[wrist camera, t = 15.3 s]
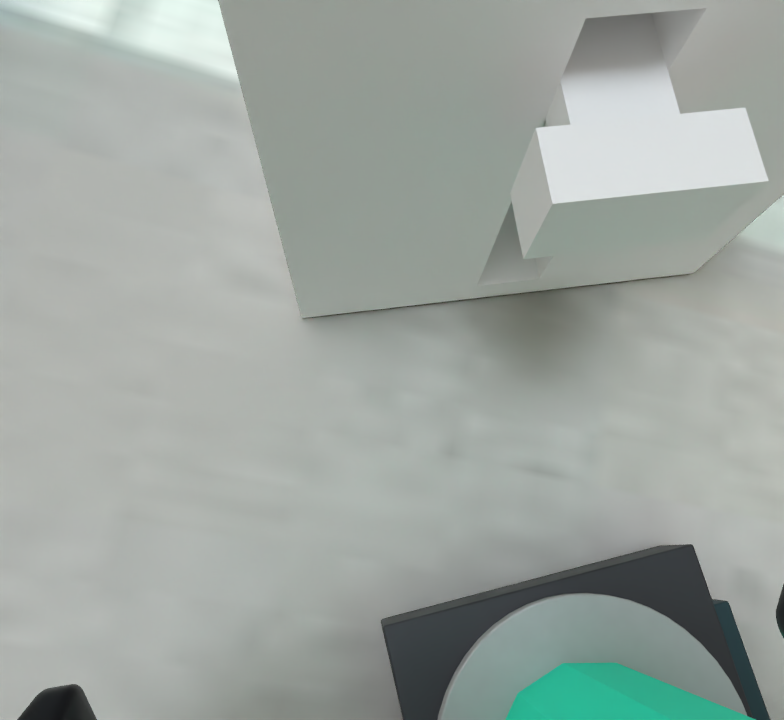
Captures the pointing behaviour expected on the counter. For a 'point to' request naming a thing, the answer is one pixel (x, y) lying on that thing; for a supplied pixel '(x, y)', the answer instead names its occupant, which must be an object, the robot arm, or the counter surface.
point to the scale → (572, 637)
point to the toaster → (507, 140)
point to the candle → (610, 697)
